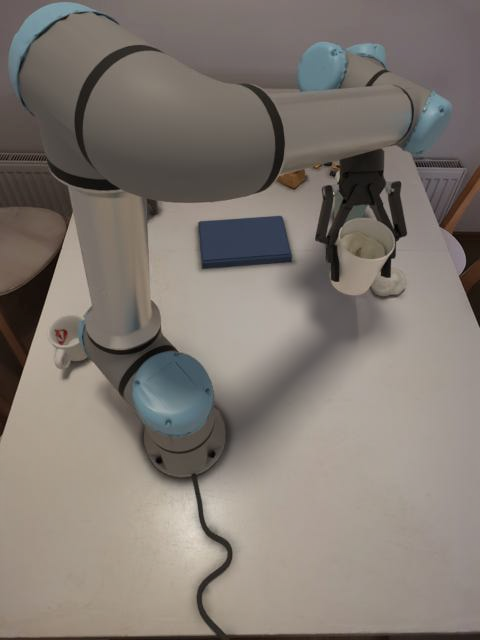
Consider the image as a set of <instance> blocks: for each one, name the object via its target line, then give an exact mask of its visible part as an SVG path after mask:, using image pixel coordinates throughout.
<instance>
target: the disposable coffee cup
mask: <svg viewBox="0 0 480 640" xmlns="http://www.w3.org/2000/svg"><path fill="white" fill-rule="evenodd" d="M339 178H340V173H339V171H338V172H337V173H336V175H334V182H335V185H336V184H337V183H338V181H339ZM342 200H343V197H342V195H341V194H340V192H339V191H337V192H336V196H335V197H334V204H333V206H334V207H333V208H334V209H333V220H334V219H335V217H336V215H337V213H338V211H339V208H340V204H341V202H342ZM368 207H369V205H358V206H353V208H352V210H351V211H350V212H349V214H348V216H347V219H346V221H345V223H346V222H347V221H349V220H351V219H354V218H363V216H364V214H365V211H366V210H367V208H368Z"/></svg>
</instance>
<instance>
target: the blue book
mask: <svg viewBox="0 0 480 640" xmlns="http://www.w3.org/2000/svg"><path fill="white" fill-rule="evenodd" d="M197 226H198V236H199V247H200V249H199V250H200V259H201V268H202V270H203V269H216V268H217V269H218V268H229V267H230V268H231V267H241V266H254V265H268V264H280V263H281V264H282V263H291V262H292V259H293V255H292V251H291V247H290V243H289V238H288V234H287V233H288V232H287V230H286V226H285V222H284V217H283V216H282V215H270V216H255V217H242V218H227V219H213V220H200V221H198V222H197Z"/></svg>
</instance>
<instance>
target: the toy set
mask: <svg viewBox="0 0 480 640" xmlns="http://www.w3.org/2000/svg"><path fill="white" fill-rule="evenodd" d="M324 165H326V166H331V165H333V166H332V167H331V169H330V172H329V174H330V175H331V176H336V173H337V172H338V171H339V164H338V163H333V162H329V163H325V164H324ZM320 166H323V164H321V165H318V166H314V167H313V168H315V169H317V168H319V167H320Z"/></svg>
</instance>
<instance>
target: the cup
mask: <svg viewBox="0 0 480 640" xmlns="http://www.w3.org/2000/svg"><path fill="white" fill-rule="evenodd" d="M82 320H84V316H82V315H81V314H77V313H67V314H63V315H61V316H58V317H57V318H56V319H54V320H53V321H52V322H51V324H49V327H48V329H47V335H46V336H47V340H48V341H49V343H50V344H51V345H52V346H53V347H54V348H55V349H56V353H55V355H54V362H53V363H54V365H55V367H56V368H58V370H63V371H64V370H67V369H68V368H69V367H70V364H71V363H72V362H81V361H84V360H86V359H87V358H88V357H87V355H86V354H85V352H84V350H83V348H82V346H81V344H80V342H79V339H78V328H79V324H80V322H81V321H82Z"/></svg>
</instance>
